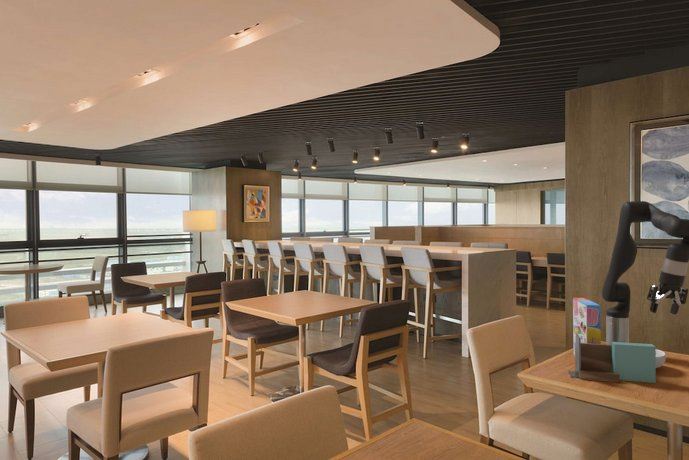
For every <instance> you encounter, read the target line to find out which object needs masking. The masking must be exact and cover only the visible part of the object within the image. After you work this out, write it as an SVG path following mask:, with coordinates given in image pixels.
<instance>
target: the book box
mask: <svg viewBox="0 0 689 460" xmlns="http://www.w3.org/2000/svg"><path fill="white" fill-rule="evenodd" d="M656 349H657V348H656V346H655V345H654V344H652V343H636V342H629V343H624V342H612V373H619V375H620V381H628V382H640V383H653V384H656V381H657V380H656V377H657V376H656V374H657V373H656V372H657V371H656V369H657V368H656Z"/></svg>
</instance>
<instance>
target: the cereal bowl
mask: <svg viewBox="0 0 689 460" xmlns="http://www.w3.org/2000/svg"><path fill="white" fill-rule="evenodd" d="M666 357H667V355H666V352H664V351H663V350H660V349H658V348H656V369H658V368H661V367H662V366H664V364H665V362H666V360H667V359H666Z"/></svg>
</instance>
